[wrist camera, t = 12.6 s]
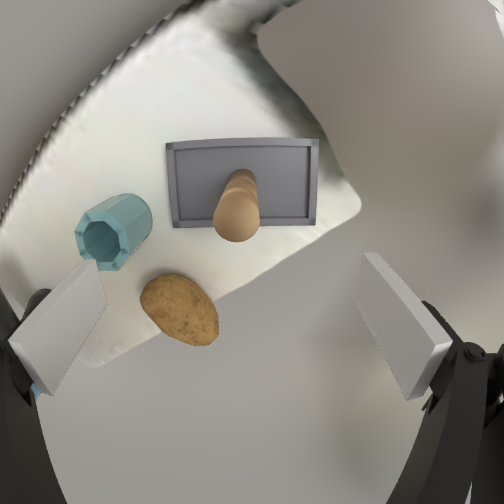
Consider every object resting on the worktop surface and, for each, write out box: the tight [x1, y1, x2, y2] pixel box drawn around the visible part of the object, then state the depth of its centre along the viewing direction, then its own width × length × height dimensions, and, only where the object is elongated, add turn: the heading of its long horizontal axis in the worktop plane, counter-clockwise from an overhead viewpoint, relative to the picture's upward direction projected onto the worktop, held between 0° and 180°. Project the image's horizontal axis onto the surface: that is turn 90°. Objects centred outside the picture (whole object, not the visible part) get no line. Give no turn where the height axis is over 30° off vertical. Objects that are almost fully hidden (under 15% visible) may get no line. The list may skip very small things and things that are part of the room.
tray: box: [166, 138, 319, 228], centre depth 37 cm, size 20×12×2 cm, turn 91°
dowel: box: [213, 169, 260, 242], centre depth 29 cm, size 4×4×17 cm
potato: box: [140, 274, 219, 346], centre depth 42 cm, size 10×14×8 cm
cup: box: [75, 194, 152, 271], centre depth 36 cm, size 8×8×10 cm
